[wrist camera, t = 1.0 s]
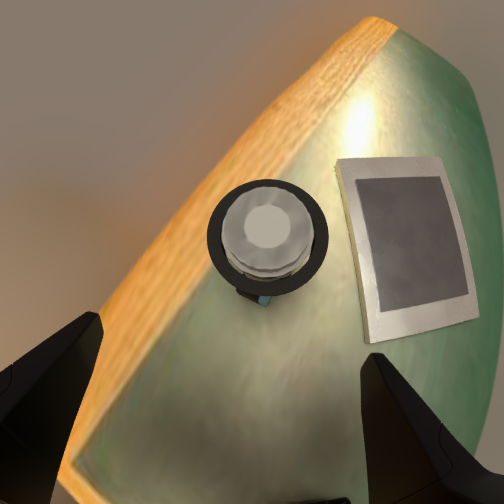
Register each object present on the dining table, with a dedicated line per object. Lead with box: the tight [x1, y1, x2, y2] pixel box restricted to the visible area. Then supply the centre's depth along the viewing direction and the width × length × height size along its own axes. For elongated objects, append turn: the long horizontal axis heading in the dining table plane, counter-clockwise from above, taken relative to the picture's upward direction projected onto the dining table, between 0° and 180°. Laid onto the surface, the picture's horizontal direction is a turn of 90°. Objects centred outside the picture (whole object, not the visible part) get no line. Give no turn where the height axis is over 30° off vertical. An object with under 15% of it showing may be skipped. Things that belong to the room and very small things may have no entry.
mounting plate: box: [335, 157, 479, 343], centre depth 21 cm, size 14×10×1 cm
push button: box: [207, 179, 329, 307], centre depth 17 cm, size 7×5×10 cm
